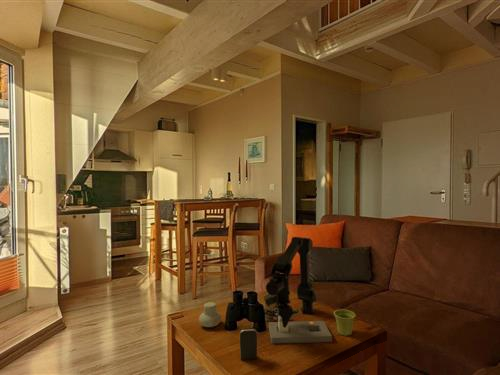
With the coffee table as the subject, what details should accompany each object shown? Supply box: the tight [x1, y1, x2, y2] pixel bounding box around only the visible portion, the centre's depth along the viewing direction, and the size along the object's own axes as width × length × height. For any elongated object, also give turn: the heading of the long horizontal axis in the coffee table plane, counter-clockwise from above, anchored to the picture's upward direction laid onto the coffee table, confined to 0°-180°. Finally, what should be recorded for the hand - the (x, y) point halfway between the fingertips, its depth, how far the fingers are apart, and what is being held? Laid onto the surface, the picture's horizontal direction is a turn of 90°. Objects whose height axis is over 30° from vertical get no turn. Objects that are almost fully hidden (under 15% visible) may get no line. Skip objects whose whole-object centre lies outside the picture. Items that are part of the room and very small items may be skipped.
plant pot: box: [333, 309, 356, 337], centre depth 138 cm, size 9×9×9 cm
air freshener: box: [198, 301, 223, 328], centre depth 147 cm, size 11×8×10 cm
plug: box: [277, 315, 288, 333], centre depth 137 cm, size 4×4×8 cm
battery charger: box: [239, 327, 258, 361], centre depth 120 cm, size 7×4×11 cm, turn 94°
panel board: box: [268, 320, 333, 344], centre depth 137 cm, size 14×26×3 cm, turn 91°
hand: (283, 322), depth 137 cm, fingers open, 9 cm apart
